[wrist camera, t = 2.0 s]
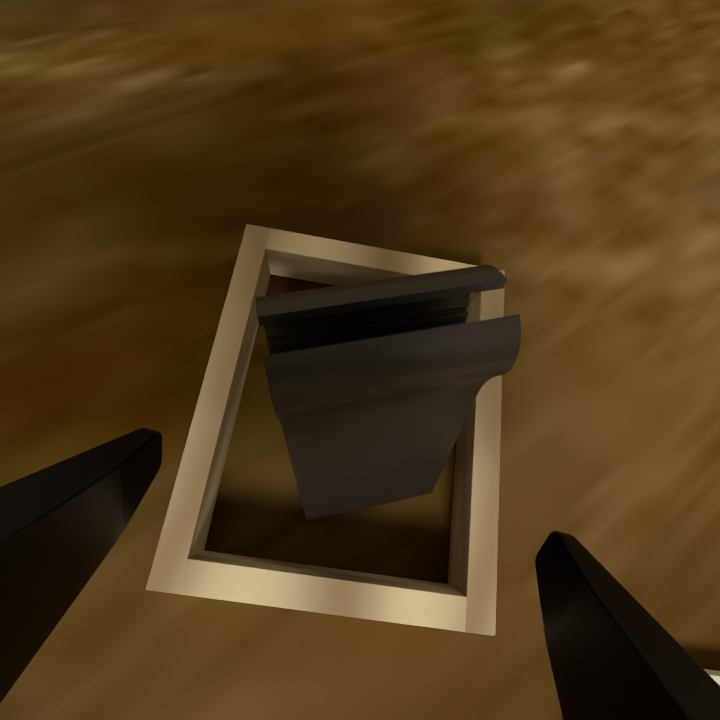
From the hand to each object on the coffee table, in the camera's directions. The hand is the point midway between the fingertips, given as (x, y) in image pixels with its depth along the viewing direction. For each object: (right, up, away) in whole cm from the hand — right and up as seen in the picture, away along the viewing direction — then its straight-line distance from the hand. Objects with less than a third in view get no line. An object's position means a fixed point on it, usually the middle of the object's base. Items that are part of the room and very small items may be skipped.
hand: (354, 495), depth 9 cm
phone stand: (0, 0, +12) cm, 12 cm away
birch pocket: (0, 0, +11) cm, 11 cm away
